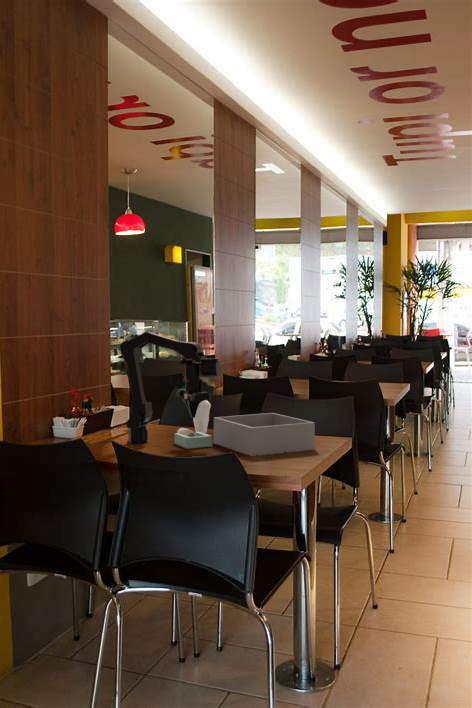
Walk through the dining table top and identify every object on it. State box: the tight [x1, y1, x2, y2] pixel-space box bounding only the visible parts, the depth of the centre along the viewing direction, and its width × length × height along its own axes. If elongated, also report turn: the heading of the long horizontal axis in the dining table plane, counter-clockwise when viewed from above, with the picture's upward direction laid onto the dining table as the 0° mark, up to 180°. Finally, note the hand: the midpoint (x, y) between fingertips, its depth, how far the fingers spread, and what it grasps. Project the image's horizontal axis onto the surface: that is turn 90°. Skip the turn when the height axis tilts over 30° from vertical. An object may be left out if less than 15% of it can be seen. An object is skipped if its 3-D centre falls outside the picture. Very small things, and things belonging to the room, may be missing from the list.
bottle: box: [176, 427, 195, 437], centre depth 276 cm, size 4×4×8 cm
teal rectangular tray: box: [174, 431, 213, 449], centre depth 273 cm, size 10×12×4 cm
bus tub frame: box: [213, 412, 316, 457], centre depth 269 cm, size 26×30×10 cm
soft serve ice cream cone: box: [192, 400, 212, 434], centre depth 301 cm, size 8×8×16 cm
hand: (193, 417), depth 273 cm, fingers closed
